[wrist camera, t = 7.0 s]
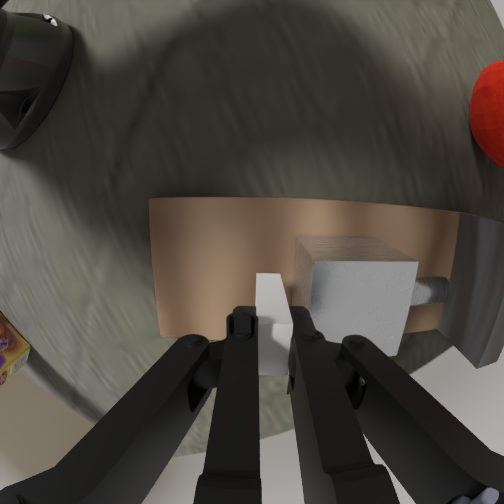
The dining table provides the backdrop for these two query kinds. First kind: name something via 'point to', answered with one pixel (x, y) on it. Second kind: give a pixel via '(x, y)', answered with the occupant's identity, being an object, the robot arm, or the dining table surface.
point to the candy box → (11, 350)
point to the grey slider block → (360, 288)
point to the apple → (489, 112)
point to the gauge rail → (321, 225)
